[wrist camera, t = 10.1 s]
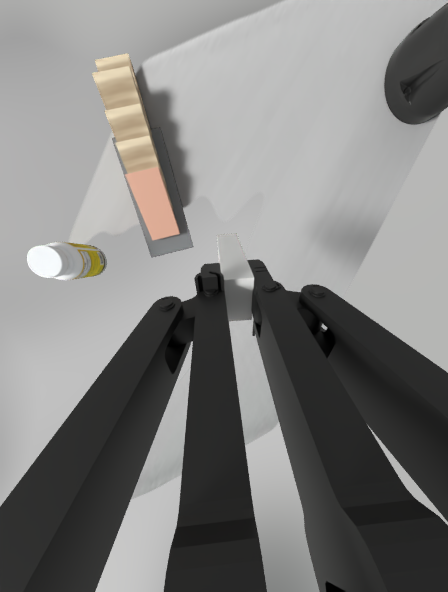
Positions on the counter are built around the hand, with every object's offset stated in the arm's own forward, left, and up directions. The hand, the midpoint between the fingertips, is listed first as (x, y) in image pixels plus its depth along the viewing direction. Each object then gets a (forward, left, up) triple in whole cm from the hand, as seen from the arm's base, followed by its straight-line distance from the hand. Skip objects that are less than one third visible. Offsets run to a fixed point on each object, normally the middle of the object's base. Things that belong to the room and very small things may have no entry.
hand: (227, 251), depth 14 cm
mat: (+12, -11, -25) cm, 30 cm away
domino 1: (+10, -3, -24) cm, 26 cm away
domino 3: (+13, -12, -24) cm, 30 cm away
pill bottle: (+25, +3, -25) cm, 36 cm away
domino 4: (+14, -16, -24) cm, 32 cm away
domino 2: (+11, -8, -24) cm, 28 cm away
